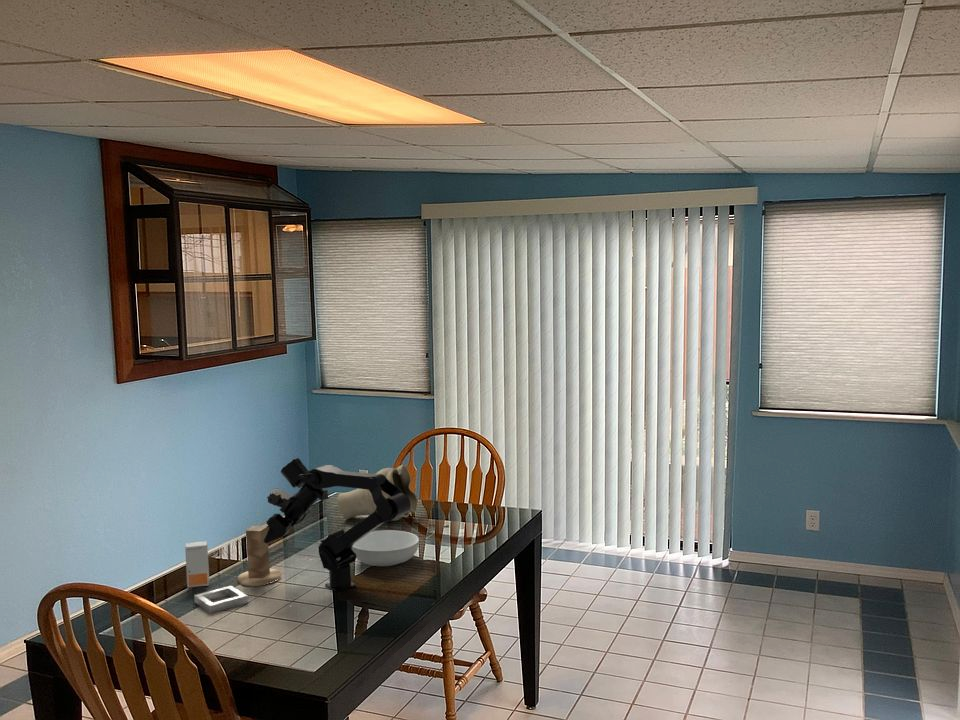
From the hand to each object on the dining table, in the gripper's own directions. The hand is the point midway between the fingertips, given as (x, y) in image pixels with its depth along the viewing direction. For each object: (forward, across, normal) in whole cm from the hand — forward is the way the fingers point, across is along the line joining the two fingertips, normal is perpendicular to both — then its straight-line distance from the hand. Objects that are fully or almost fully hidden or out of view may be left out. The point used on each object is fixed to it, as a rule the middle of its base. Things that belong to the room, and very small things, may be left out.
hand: (271, 536), depth 257 cm
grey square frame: (+13, +19, +3) cm, 24 cm away
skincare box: (+23, +7, -6) cm, 25 cm away
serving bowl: (-9, -18, +30) cm, 36 cm away
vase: (+4, -62, +18) cm, 64 cm away
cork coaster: (+12, +1, +5) cm, 13 cm away
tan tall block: (+12, +1, +5) cm, 12 cm away
